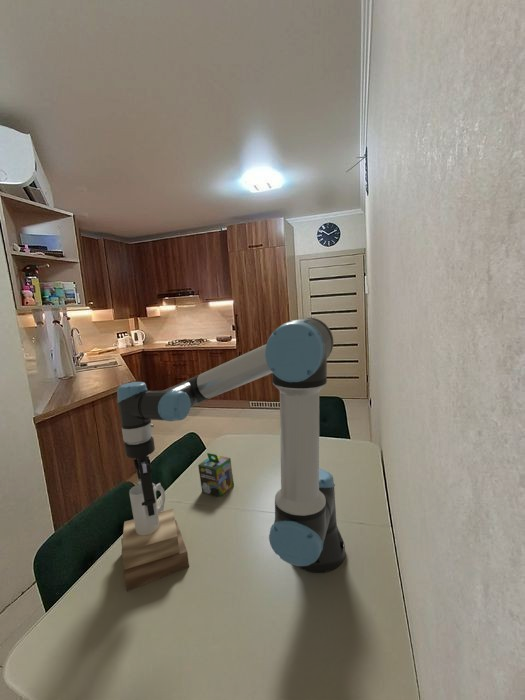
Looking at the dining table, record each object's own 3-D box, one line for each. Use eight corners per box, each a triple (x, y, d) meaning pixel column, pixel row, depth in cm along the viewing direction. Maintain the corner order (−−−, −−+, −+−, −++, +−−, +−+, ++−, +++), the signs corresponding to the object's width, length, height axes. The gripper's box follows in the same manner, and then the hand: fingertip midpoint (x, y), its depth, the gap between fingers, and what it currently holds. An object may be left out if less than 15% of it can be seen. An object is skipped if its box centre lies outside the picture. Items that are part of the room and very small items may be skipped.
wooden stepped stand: (189, 567, 94) (187, 551, 93) (126, 592, 88) (124, 574, 87) (177, 534, 109) (175, 520, 108) (123, 553, 102) (121, 538, 102)
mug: (143, 540, 92) (137, 498, 91) (130, 531, 96) (124, 491, 95) (174, 519, 100) (169, 481, 98) (161, 512, 104) (156, 475, 103)
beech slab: (179, 552, 93) (177, 536, 93) (124, 569, 89) (121, 552, 88) (175, 523, 106) (173, 508, 106) (126, 536, 102) (124, 521, 101)
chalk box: (234, 485, 134) (230, 449, 132) (219, 498, 127) (215, 459, 125) (216, 481, 139) (212, 446, 137) (200, 492, 132) (196, 455, 130)
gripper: (160, 451, 84) (171, 531, 87) (147, 423, 107) (156, 488, 109) (127, 459, 81) (139, 542, 84) (121, 429, 103) (131, 495, 106)
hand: (149, 511), depth 97 cm, fingers open, 13 cm apart
